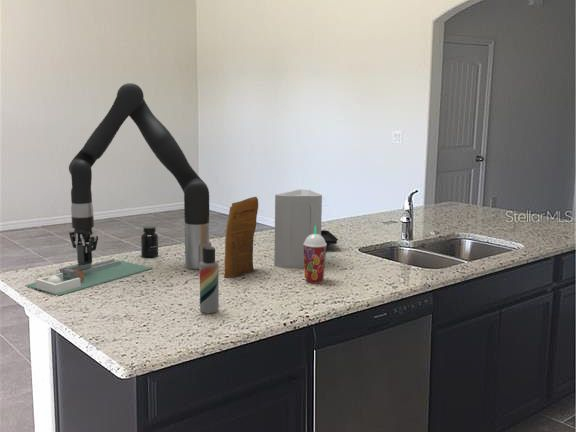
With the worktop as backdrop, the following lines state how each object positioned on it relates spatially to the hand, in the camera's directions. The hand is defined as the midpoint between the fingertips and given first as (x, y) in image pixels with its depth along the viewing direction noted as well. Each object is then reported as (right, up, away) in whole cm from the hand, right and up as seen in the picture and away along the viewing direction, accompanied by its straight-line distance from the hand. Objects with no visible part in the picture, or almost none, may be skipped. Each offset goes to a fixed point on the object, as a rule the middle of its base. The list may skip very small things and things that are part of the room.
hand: (84, 260), depth 227 cm
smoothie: (+84, -7, -4) cm, 84 cm away
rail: (0, -5, +1) cm, 5 cm away
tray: (+84, +3, +49) cm, 98 cm away
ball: (-4, -6, -19) cm, 20 cm away
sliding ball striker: (+1, -5, -5) cm, 7 cm away
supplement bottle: (+18, 0, +27) cm, 32 cm away
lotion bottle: (+50, -13, -37) cm, 63 cm away
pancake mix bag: (+57, -5, +4) cm, 57 cm away
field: (+4, -6, -4) cm, 8 cm away
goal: (-3, -8, -18) cm, 20 cm away
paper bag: (+80, -3, +18) cm, 82 cm away
